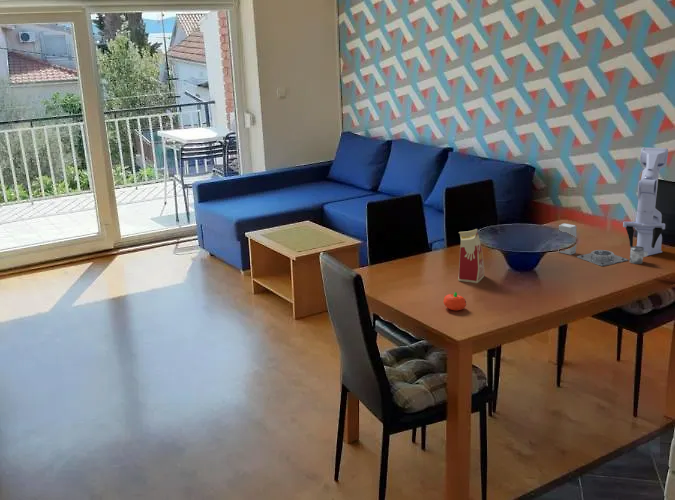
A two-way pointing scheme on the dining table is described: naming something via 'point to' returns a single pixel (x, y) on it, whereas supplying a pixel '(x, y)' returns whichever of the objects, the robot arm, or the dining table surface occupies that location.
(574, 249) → the skincare box
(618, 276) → the dining table surface
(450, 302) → the pumpkin
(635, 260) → the cylinder with square knob
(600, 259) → the duct flange
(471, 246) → the milk carton
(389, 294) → the dining table surface
